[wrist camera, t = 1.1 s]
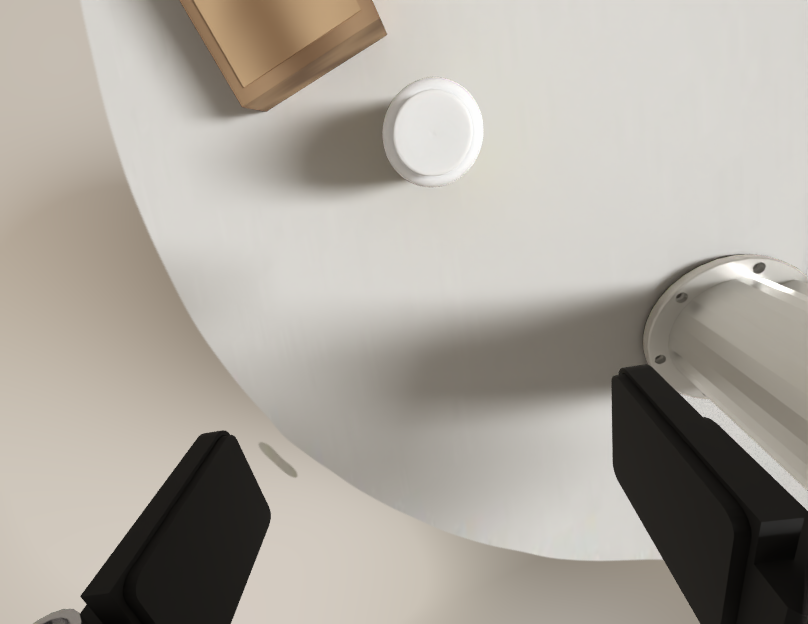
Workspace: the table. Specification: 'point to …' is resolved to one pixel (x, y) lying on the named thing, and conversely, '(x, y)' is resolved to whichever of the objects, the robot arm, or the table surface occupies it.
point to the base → (281, 42)
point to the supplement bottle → (432, 132)
